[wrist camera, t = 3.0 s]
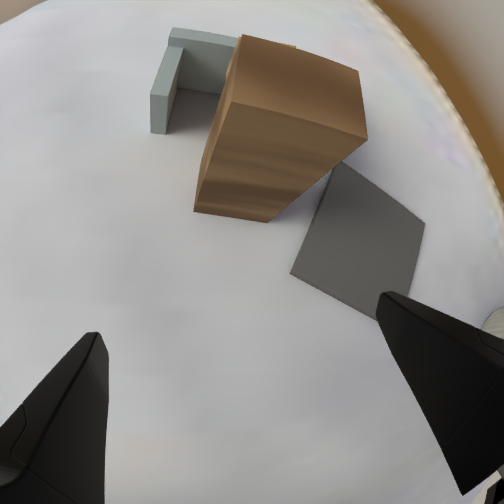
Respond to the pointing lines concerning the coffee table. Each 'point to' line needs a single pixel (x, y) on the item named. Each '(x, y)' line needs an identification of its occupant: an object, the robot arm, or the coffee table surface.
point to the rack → (189, 70)
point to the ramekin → (495, 323)
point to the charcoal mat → (359, 243)
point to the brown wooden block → (277, 129)
